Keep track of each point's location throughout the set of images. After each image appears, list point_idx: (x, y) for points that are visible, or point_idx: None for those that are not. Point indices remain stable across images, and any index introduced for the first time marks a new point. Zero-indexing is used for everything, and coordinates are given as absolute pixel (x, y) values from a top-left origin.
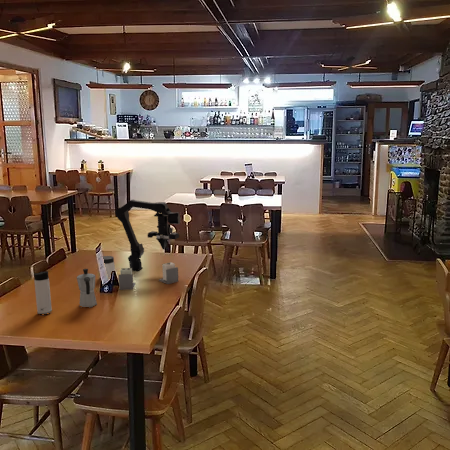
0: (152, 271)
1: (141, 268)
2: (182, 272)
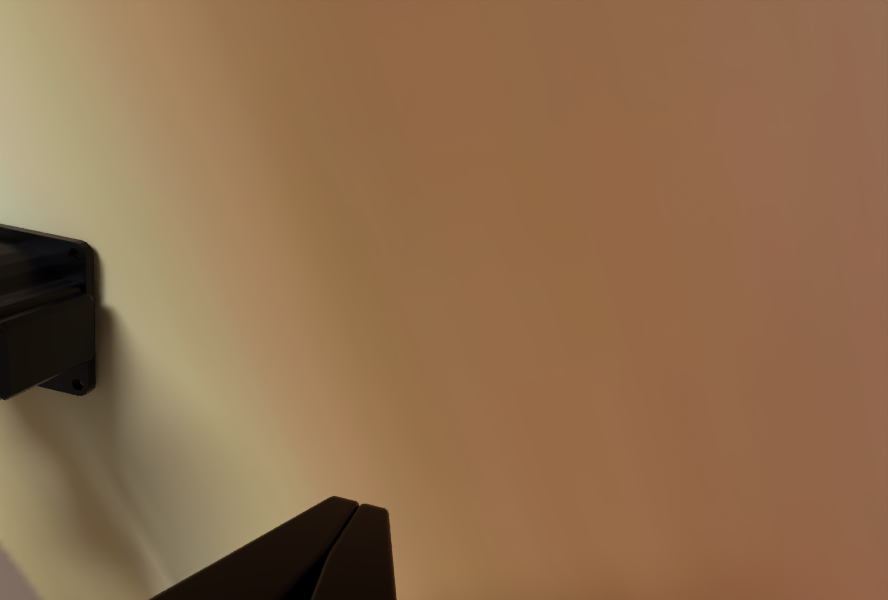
0: (305, 377)
1: (90, 282)
2: (828, 384)
